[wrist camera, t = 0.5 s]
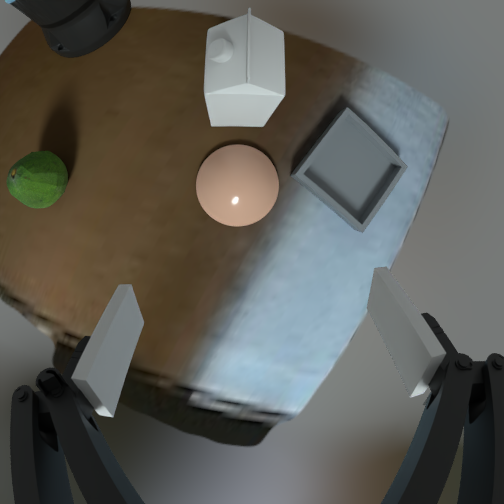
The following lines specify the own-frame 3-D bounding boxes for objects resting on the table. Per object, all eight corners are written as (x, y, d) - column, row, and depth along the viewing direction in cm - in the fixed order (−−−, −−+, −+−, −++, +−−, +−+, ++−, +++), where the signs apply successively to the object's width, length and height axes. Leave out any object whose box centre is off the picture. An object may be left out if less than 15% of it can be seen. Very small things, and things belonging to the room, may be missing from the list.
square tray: (290, 175, 39) (295, 174, 36) (339, 111, 38) (347, 107, 35) (354, 229, 42) (362, 232, 39) (397, 166, 40) (407, 166, 38)
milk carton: (263, 80, 36) (293, 11, 17) (263, 127, 37) (296, 81, 19) (212, 80, 35) (205, 7, 17) (210, 126, 37) (200, 78, 18)
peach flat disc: (185, 162, 37) (184, 162, 37) (261, 134, 38) (262, 133, 37) (213, 237, 40) (213, 238, 39) (288, 209, 40) (289, 209, 39)
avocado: (87, 172, 36) (42, 170, 25) (61, 214, 37) (14, 227, 25) (55, 143, 34) (9, 135, 23) (31, 185, 35) (-17, 189, 24)
